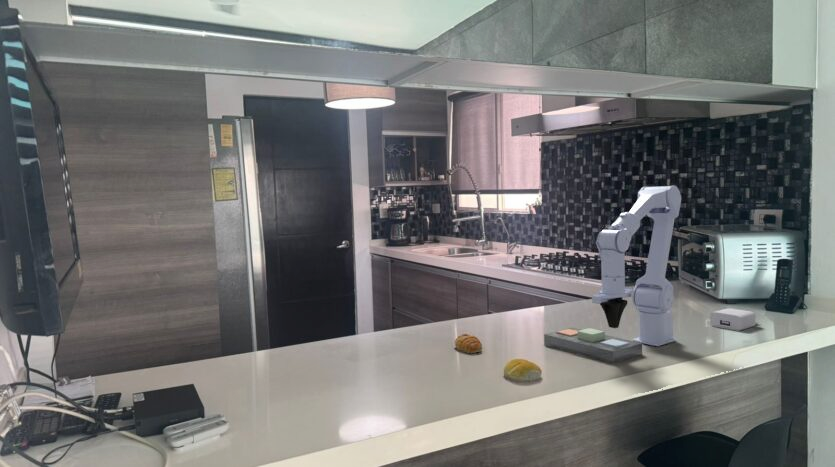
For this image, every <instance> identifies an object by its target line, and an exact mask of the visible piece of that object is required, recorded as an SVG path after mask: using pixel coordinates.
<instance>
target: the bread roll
mask: <svg viewBox="0 0 835 467" xmlns="http://www.w3.org/2000/svg"><path fill="white" fill-rule="evenodd" d="M542 374H543V372H542V369H541V367H540V366H539V365H537V364H536V363H534V362H532V361H529V360H528V359H525V358H516V359H515V358H514V359H511V360H510V361H508V362H507V363H506V364H505V365H504V368H503V375H504V377H505V378H507V379H510V380H511V381H514V382H518V383H528V382H534V381H535V382H536V381H538V380H539V379H540V378H541V376H542Z"/></svg>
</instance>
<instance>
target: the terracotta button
mask: <svg viewBox="0 0 835 467" xmlns="http://www.w3.org/2000/svg"><path fill="white" fill-rule="evenodd" d="M565 329H566V330H564V329H561V330H562V331H560V330H557V331H558V332H557V334H561V335H565V336H569V337H572V336H576V335H578V331H576V330H571V329H568V328H565Z"/></svg>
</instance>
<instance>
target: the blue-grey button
mask: <svg viewBox="0 0 835 467" xmlns="http://www.w3.org/2000/svg"><path fill="white" fill-rule="evenodd" d="M600 344H602V345H606V346H610V347H614V348H620V347H623V346H627V345H629V343H628V342H623V341H619V340H615V339H611V340H607V341H603V342H600Z"/></svg>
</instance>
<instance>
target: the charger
mask: <svg viewBox="0 0 835 467" xmlns="http://www.w3.org/2000/svg"><path fill="white" fill-rule="evenodd" d="M709 315H710V316H709V324H710V326H711V327H716V328H721V329H725V330H726V329H727V330H732V331H737V332H739V331H743V330H745V329H750V328H753V327H755V326H756V318H757V316H756V313H755V312H754V311H750V310H744V309H737V308H731V307H730V308H724V309H721V310H716V311H712V312H710V313H709Z"/></svg>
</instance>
